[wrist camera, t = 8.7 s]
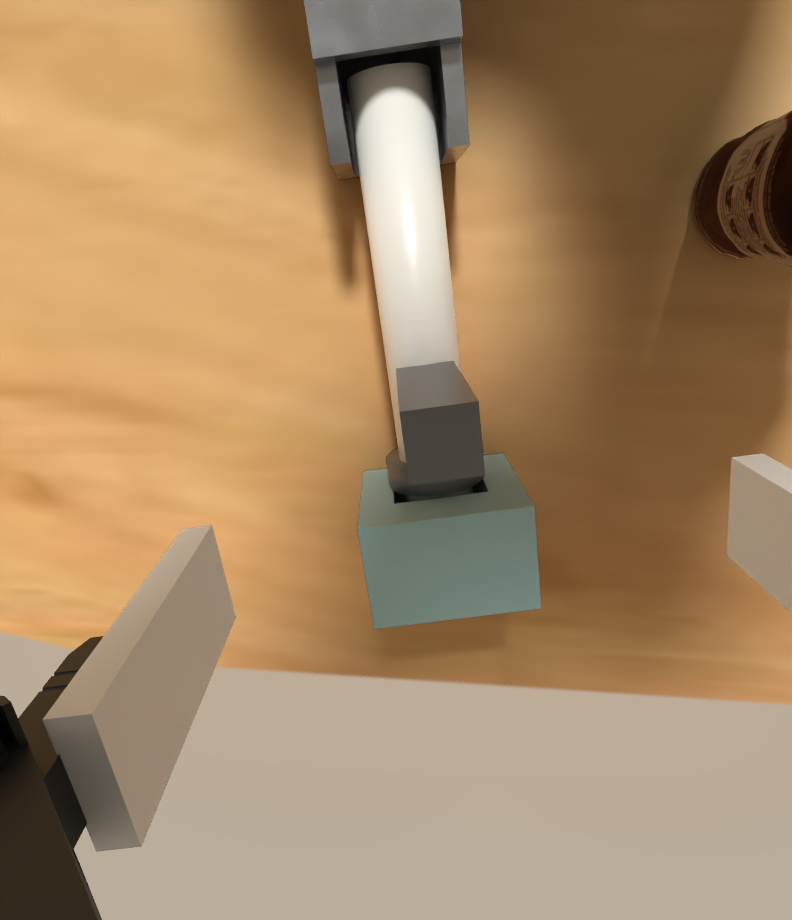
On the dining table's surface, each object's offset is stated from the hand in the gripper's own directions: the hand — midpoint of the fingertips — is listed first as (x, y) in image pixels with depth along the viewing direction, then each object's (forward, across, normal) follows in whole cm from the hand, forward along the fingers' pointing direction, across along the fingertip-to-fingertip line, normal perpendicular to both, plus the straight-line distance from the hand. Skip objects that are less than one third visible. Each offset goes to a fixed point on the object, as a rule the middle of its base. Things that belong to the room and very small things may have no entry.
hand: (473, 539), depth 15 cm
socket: (+22, 0, -9) cm, 24 cm away
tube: (+22, 0, +3) cm, 23 cm away
